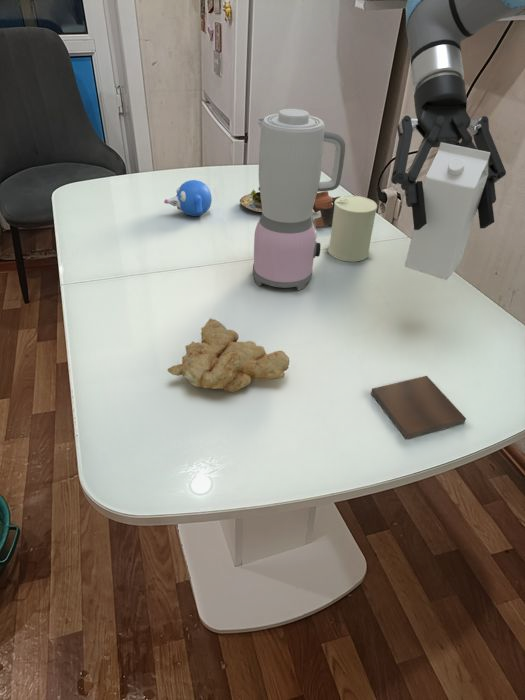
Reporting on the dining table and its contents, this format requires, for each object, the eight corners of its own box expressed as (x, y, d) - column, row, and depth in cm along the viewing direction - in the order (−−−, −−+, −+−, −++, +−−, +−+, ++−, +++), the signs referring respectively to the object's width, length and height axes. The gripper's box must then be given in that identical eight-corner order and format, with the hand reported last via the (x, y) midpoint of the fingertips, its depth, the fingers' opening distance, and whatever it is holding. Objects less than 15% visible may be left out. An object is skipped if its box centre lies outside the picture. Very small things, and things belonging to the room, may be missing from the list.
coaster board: (425, 380, 82) (426, 375, 81) (464, 423, 75) (466, 418, 74) (370, 393, 79) (371, 388, 79) (406, 439, 72) (407, 434, 71)
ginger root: (151, 361, 81) (158, 317, 77) (231, 346, 91) (241, 307, 87) (203, 422, 72) (215, 377, 68) (286, 398, 82) (300, 357, 78)
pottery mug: (304, 231, 125) (297, 197, 123) (302, 232, 134) (295, 200, 133) (353, 219, 124) (346, 184, 123) (347, 220, 133) (340, 188, 132)
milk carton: (419, 251, 88) (448, 137, 76) (460, 264, 85) (497, 146, 73) (404, 267, 83) (432, 148, 72) (446, 281, 80) (483, 159, 69)
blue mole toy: (159, 209, 131) (156, 176, 126) (203, 203, 135) (202, 171, 130) (171, 228, 123) (169, 194, 117) (218, 221, 126) (218, 188, 121)
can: (329, 241, 120) (335, 191, 113) (368, 245, 119) (377, 195, 112) (326, 259, 113) (333, 207, 106) (368, 264, 112) (378, 212, 105)
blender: (249, 290, 101) (253, 119, 82) (254, 261, 111) (259, 101, 91) (328, 296, 101) (352, 125, 81) (326, 266, 111) (347, 106, 91)
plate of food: (233, 201, 137) (233, 174, 132) (273, 196, 140) (275, 169, 136) (250, 219, 128) (250, 190, 123) (292, 213, 132) (294, 185, 127)
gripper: (492, 102, 84) (509, 232, 82) (360, 101, 81) (373, 236, 79) (520, 72, 77) (539, 215, 74) (376, 70, 74) (391, 218, 72)
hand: (454, 226), depth 77 cm, fingers closed on milk carton, 10 cm apart
